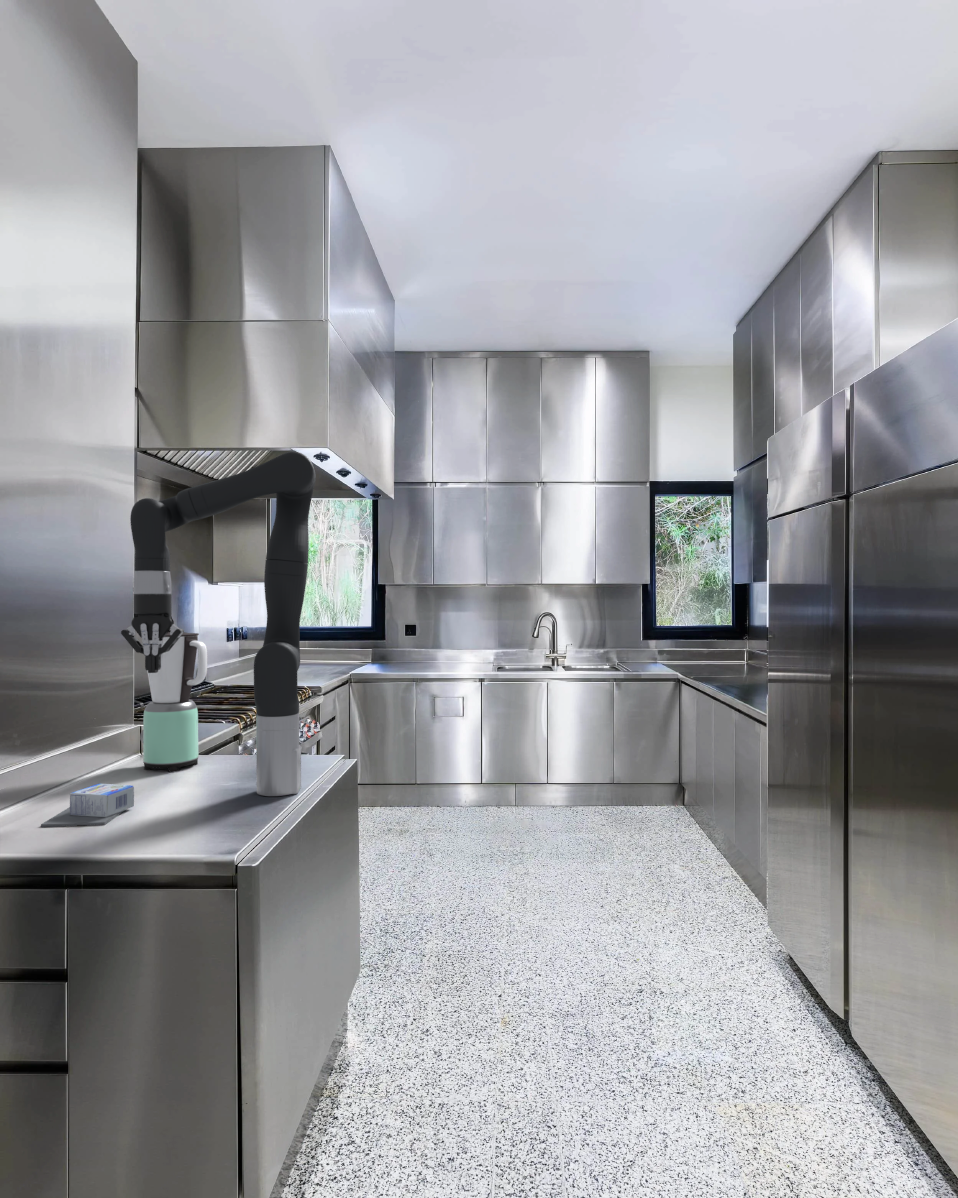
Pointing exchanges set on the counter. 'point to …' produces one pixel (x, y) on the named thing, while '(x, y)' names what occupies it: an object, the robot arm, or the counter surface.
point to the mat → (76, 819)
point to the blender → (174, 706)
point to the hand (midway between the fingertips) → (152, 672)
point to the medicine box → (101, 800)
